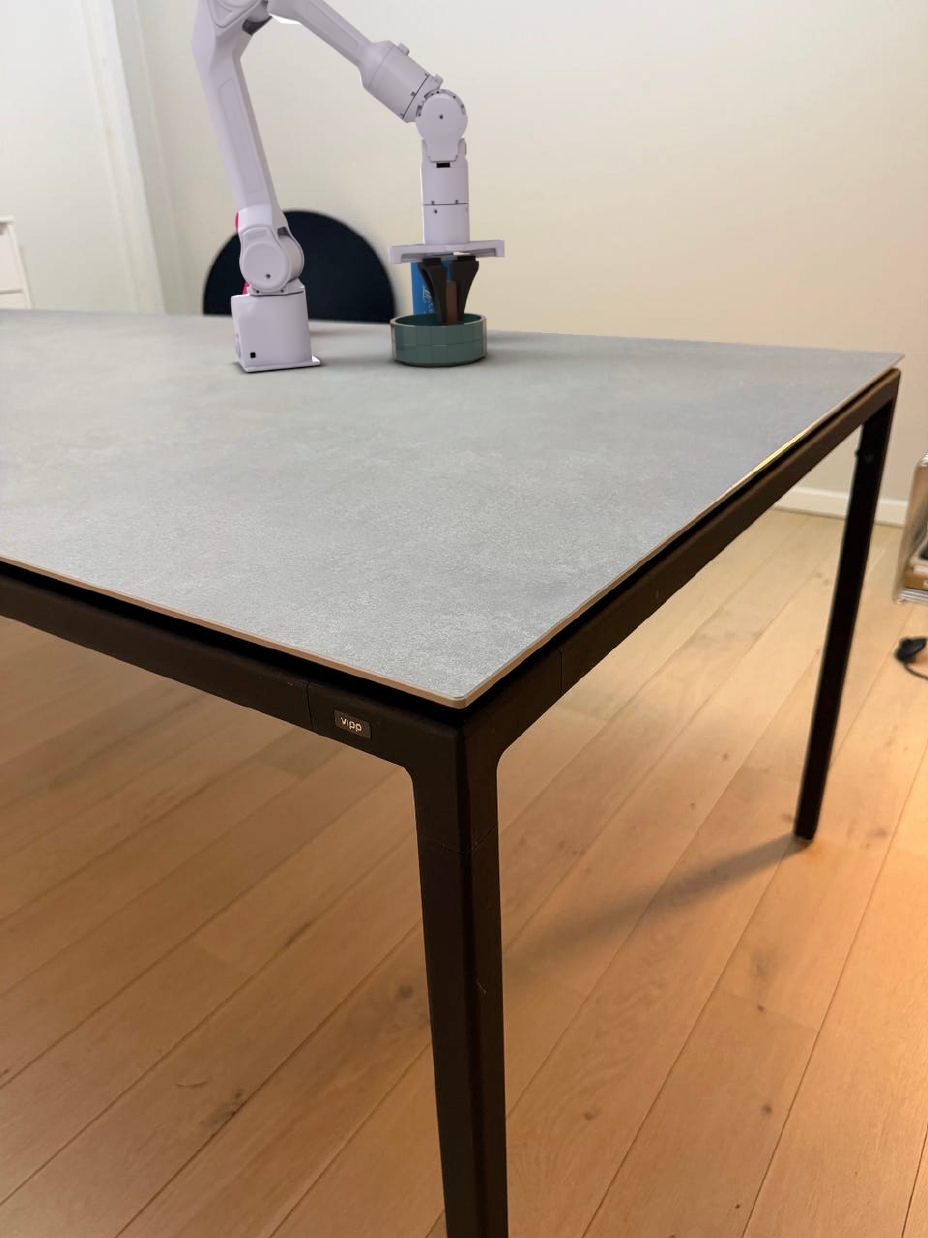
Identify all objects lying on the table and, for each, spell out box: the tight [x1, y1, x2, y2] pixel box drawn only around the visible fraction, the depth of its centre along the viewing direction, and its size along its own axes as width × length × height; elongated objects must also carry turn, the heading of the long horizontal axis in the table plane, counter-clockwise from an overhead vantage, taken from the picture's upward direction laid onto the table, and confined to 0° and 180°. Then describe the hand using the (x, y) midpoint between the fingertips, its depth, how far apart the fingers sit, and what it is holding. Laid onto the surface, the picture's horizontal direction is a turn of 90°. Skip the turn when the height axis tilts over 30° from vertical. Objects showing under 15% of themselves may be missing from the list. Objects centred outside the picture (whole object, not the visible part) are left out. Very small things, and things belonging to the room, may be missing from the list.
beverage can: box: [410, 252, 455, 314], centre depth 129 cm, size 6×6×12 cm
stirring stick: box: [442, 280, 458, 326], centre depth 117 cm, size 2×2×8 cm
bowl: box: [389, 311, 488, 368], centre depth 118 cm, size 12×12×5 cm
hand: (449, 321), depth 117 cm, fingers closed on stirring stick, 1 cm apart
